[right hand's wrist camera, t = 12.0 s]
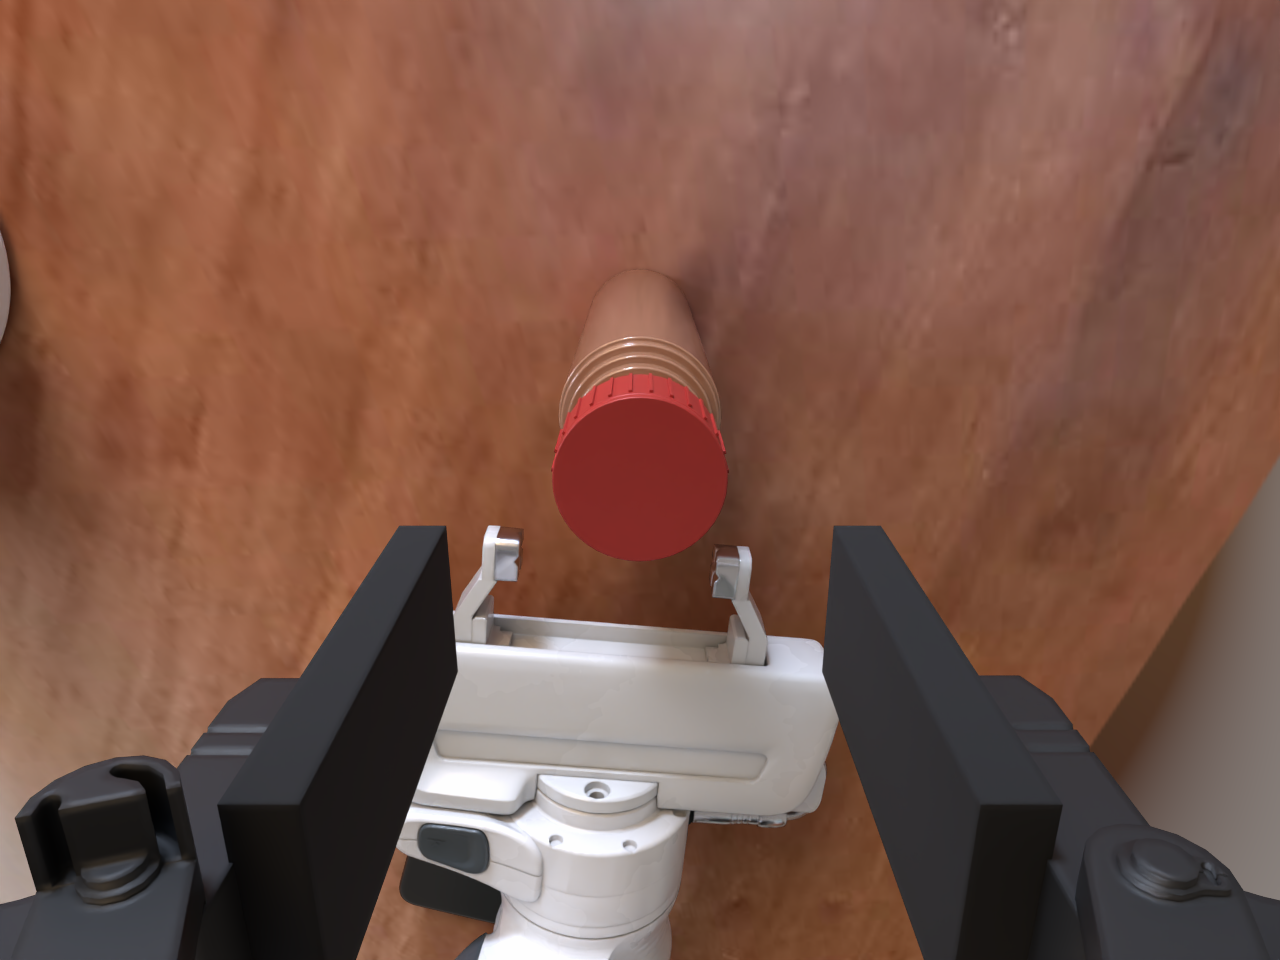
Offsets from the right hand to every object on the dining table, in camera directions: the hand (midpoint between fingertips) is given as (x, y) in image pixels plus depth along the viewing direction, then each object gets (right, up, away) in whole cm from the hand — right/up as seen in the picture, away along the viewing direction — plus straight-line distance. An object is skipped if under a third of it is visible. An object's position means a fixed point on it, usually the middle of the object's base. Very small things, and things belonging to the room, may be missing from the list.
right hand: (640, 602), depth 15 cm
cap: (0, +2, +6) cm, 6 cm away
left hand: (-1, -1, +22) cm, 22 cm away
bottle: (0, +9, +25) cm, 27 cm away
